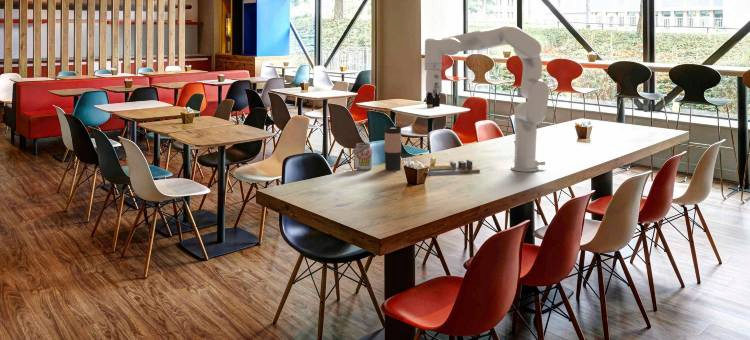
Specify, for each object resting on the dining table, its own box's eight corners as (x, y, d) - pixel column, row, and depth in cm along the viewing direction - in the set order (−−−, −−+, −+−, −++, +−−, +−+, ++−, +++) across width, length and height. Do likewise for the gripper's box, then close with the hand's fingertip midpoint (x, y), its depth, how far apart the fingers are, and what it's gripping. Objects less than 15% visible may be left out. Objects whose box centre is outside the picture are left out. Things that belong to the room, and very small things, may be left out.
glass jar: (354, 171, 317) (353, 146, 315) (351, 167, 325) (350, 143, 323) (373, 170, 319) (373, 145, 316) (370, 167, 327) (369, 142, 324)
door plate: (429, 175, 308) (429, 165, 307) (423, 171, 316) (424, 161, 315) (458, 173, 310) (459, 163, 309) (452, 170, 319) (452, 160, 318)
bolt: (428, 169, 310) (428, 158, 309) (426, 168, 313) (427, 157, 312) (453, 168, 313) (453, 157, 312) (451, 167, 315) (452, 156, 314)
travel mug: (381, 169, 322) (381, 127, 317) (394, 167, 326) (394, 125, 322) (391, 171, 316) (391, 129, 312) (404, 169, 320) (404, 127, 316)
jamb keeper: (458, 173, 310) (459, 163, 309) (452, 170, 319) (452, 159, 318) (479, 172, 312) (480, 162, 311) (473, 169, 321) (473, 158, 320)
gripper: (447, 67, 293) (446, 107, 296) (435, 65, 310) (435, 103, 313) (430, 68, 292) (430, 108, 295) (419, 66, 308) (419, 103, 312)
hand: (432, 105), depth 304 cm, fingers open, 9 cm apart
